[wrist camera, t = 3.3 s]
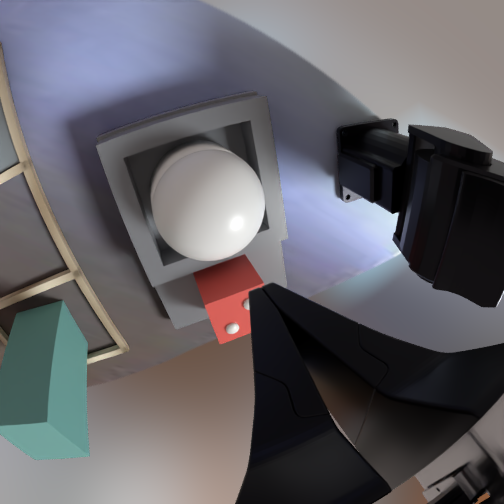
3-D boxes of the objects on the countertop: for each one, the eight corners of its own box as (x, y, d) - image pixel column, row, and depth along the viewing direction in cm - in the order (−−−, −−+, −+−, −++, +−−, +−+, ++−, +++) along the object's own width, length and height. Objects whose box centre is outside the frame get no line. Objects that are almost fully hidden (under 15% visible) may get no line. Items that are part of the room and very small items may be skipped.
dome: (233, 128, 17) (274, 147, 13) (250, 214, 21) (290, 258, 16) (137, 158, 16) (137, 189, 11) (166, 243, 20) (180, 299, 15)
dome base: (249, 91, 18) (286, 93, 14) (281, 279, 27) (310, 318, 23) (98, 135, 16) (84, 151, 12) (173, 320, 25) (185, 367, 21)
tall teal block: (62, 300, 20) (47, 422, 12) (87, 342, 23) (89, 456, 14) (16, 313, 19) (-10, 426, 10) (43, 352, 22) (34, 459, 13)
